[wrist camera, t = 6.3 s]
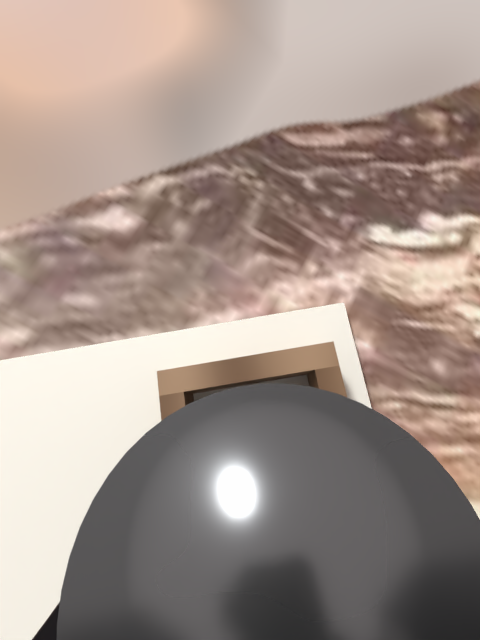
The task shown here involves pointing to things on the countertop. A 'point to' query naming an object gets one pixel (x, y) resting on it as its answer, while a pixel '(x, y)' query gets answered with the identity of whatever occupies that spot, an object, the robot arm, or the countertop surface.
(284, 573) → the grey tall rounded cylinder
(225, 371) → the square wooden frame
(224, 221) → the countertop surface
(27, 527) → the board
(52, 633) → the robot arm
